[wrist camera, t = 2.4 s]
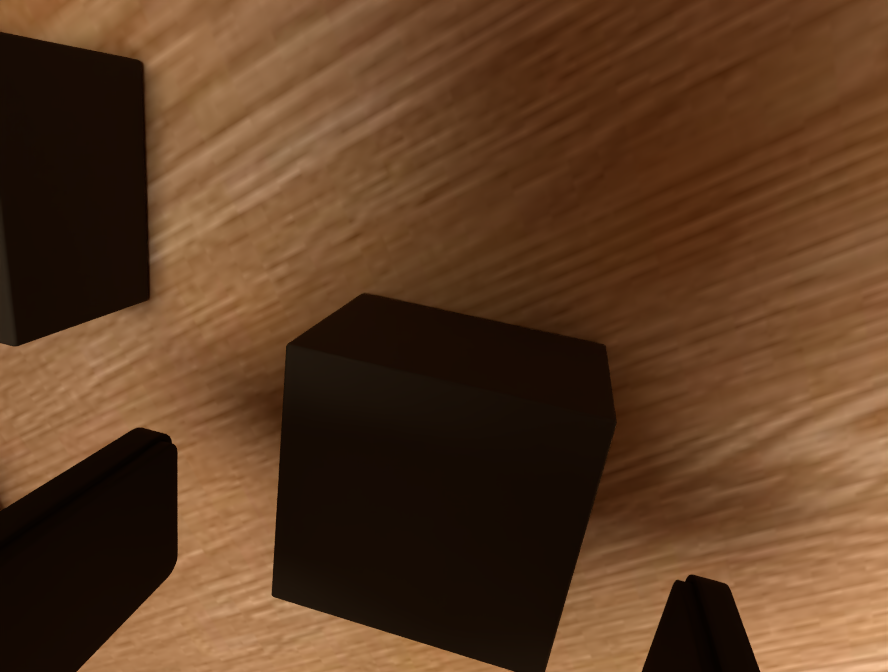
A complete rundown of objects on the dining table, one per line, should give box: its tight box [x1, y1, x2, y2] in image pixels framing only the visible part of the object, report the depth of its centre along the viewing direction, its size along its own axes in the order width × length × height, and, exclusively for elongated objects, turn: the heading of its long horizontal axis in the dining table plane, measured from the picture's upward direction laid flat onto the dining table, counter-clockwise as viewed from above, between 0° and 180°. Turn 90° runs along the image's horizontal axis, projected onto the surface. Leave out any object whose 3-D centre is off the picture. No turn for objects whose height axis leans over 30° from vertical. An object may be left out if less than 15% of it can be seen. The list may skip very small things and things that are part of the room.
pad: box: [272, 294, 617, 672], centre depth 13 cm, size 6×6×4 cm
